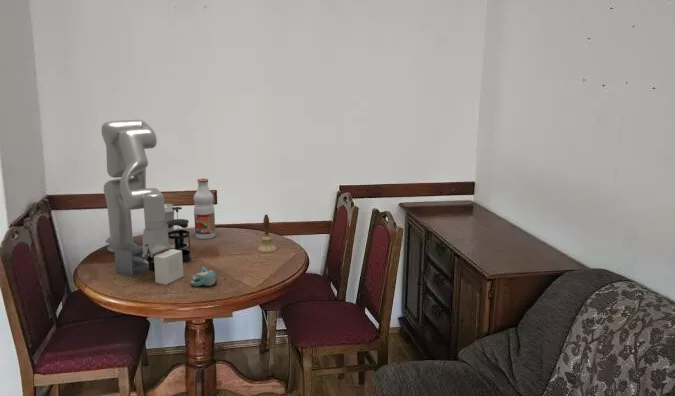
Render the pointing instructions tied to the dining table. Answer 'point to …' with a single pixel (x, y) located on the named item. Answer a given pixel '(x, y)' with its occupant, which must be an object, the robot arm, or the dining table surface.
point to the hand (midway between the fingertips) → (158, 268)
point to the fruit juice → (204, 211)
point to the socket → (168, 266)
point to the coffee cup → (169, 216)
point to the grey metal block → (128, 260)
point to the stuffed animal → (204, 278)
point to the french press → (180, 236)
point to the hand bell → (267, 238)
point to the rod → (140, 259)
